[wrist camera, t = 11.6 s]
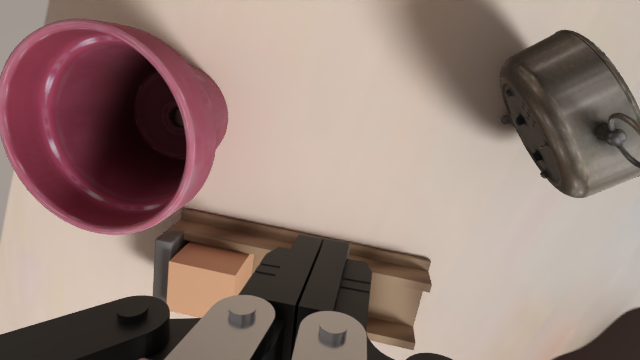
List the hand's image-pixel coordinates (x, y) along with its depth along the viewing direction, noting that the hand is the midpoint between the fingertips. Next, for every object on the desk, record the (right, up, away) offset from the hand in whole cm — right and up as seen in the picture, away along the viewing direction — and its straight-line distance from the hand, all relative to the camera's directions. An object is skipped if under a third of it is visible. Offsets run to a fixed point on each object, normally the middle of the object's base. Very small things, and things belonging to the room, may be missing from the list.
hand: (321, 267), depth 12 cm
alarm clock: (+17, +9, +23) cm, 30 cm away
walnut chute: (-2, -7, +29) cm, 30 cm away
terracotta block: (-10, -6, +30) cm, 32 cm away
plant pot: (-13, +9, +27) cm, 31 cm away
